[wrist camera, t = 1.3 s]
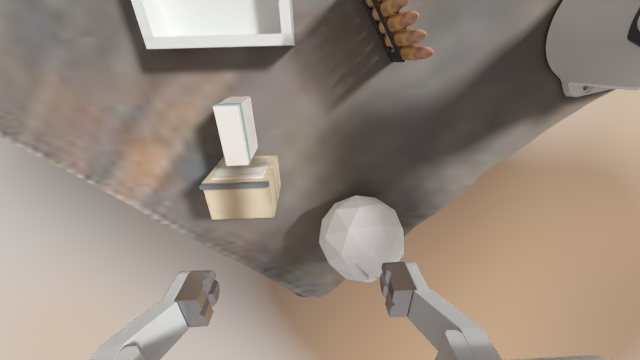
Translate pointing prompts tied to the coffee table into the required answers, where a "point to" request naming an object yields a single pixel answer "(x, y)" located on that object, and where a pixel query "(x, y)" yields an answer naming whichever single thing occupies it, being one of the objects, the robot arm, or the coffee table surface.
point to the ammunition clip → (397, 30)
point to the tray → (214, 23)
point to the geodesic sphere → (361, 237)
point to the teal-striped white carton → (236, 130)
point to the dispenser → (243, 189)
